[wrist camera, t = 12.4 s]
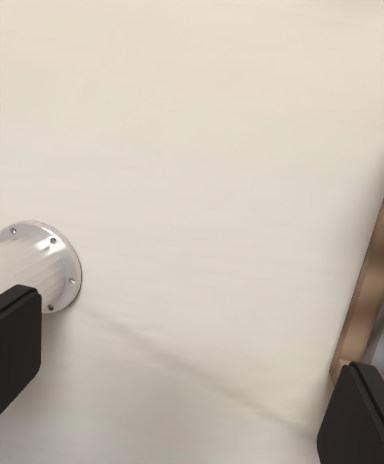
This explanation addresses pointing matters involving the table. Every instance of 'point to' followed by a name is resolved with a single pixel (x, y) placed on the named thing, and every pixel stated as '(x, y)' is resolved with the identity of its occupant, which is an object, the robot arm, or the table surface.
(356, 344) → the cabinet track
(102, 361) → the table surface
